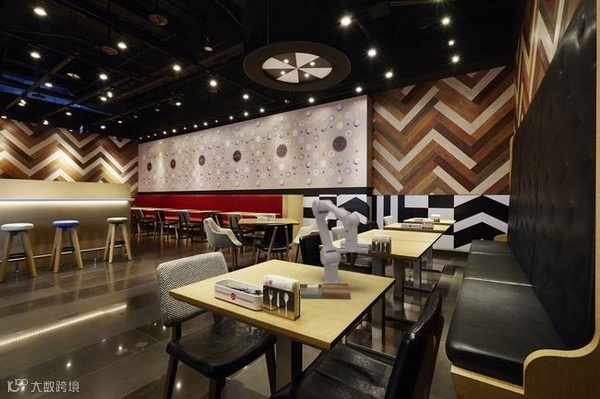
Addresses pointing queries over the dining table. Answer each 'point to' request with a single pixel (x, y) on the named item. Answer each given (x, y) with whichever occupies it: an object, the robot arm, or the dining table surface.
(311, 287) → the tile
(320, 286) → the tray
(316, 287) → the tile
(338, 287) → the plate
